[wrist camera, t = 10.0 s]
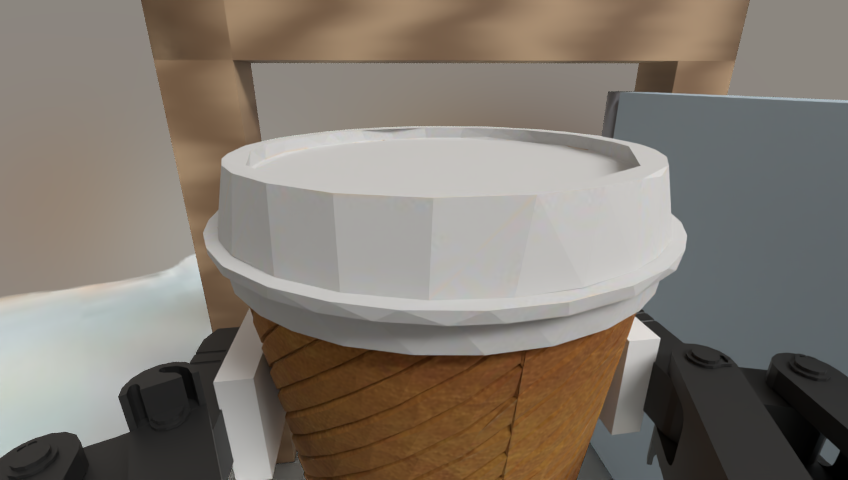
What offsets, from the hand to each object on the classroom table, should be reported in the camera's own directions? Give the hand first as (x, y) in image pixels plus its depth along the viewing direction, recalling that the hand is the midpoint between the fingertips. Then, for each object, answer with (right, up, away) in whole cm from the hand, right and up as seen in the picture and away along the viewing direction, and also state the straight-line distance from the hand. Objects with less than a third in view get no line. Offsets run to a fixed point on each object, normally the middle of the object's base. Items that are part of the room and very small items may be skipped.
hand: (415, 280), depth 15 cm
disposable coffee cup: (+1, -8, -2) cm, 8 cm away
